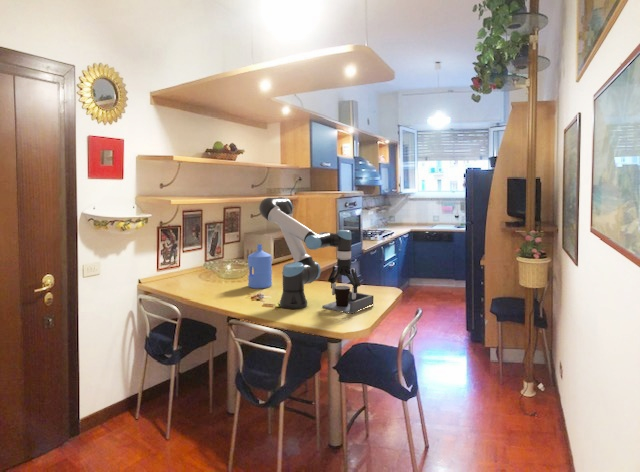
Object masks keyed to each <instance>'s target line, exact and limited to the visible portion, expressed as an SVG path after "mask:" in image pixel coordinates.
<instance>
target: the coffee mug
mask: <svg viewBox="0 0 640 472" xmlns="http://www.w3.org/2000/svg"><path fill="white" fill-rule="evenodd" d="M334 288H335V295H334V296H335V301H336V306H338V307H347V306H348V302H349V294H350V291H351V287H350V286H349V285H336V287H334Z"/></svg>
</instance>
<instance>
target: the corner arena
mask: <svg viewBox="0 0 640 472" xmlns="http://www.w3.org/2000/svg"><path fill="white" fill-rule="evenodd" d="M372 304H373V305H374V295H372V294H366V293H360V292H357V293H356V299H352V290H350V294H349V302H348V306H347V307H338V306H336V300H335V301H333V302H330V303H327V304H324V305H322V307H321V308H322V309H326V308H327V310H331V309H332V310H333V311H335V310H337V311H336V312H340V311H343V312H342V313H344V312H349V313H354V312H356V311H358V310H360V309H363V308H365V307H367V306H369V305H372ZM332 310H331V311H332ZM349 313H348V314H349Z"/></svg>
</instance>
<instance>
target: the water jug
mask: <svg viewBox="0 0 640 472" xmlns="http://www.w3.org/2000/svg"><path fill="white" fill-rule="evenodd" d="M262 246H263V244H257V246H256V247H257V249H256V251H254V252H251V254H249V255H248V256H247V266H248V270H249V271H248V276H247V277H248V284H247V285H248V288H250V289H256V290H257V289H259V290H260V289H267V288H271V287H272V285H273V282H272V274H273V270H272V269H273V268H272V262H273V261H272V254H270V253H269V252H265V251H264V250H263V247H262Z"/></svg>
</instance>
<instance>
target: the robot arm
mask: <svg viewBox="0 0 640 472" xmlns="http://www.w3.org/2000/svg"><path fill="white" fill-rule="evenodd" d="M258 209H259V213H260V215H261V217H262V218H264V219H265V220H267V221H268V222H270V223H275V224H276V225H277V226H278V227H279V228H280V231H281V233H282V235H283V238H284V240H285V243H286V244H287V247H288V249H289V252H290V254H291V257H292V258H293V259H292V260H293V261H294V262H289V263H288V262H287V263H286V264H284V265H283V266H282V293H281V297H280V300H279V307H280V306H281V307H280V308H283V309H288V310H289V309H290V310H296V309H298V310H299V309H303V308H306V307H307V306H308V300H307V299H306V295H305V285H306V284H308V283H313V282H315V281H317V280H318V279H319V278H320V276H321V271H322V270H321V269H322V268H321V266H320V264H319V263H318V262H316V261H315V260H314V259H313V256H311V255H309V254H308V252H307V250H306V248H307V249H308V250H319V249H323V248H327V247H331V248H337V253H336V254H337V255H336V256H337V260H336V261H337V263H336V265H333V266H332V270H331V272H330V275H329V277H328V280H327V281H328V283H330V289H331V296H335V288H334V287H336V286H337V282H336V281H337V280H338V279H339V278H340V276H344V277H346V278H347V279H348V281H349V282H350V283H351V285H352V288H351V292H352V299H356V293H358V287H360V286H361V282H360V280H359V277H358V274H357V271H356V270H357V269H356V268H354V267H353V268H351V267H352V266H351V265H352V231H351V230H349V229H338V230H337V232H335V233H334V232H326V231H325V232H319V233H316V232H314V231H313V230H311V229H310V228H308V227H307V226H306V225H304V224H302V223H301V222H299V221H298V220H296V219H295V218H293V216H294V215H293V211H294V206H293V203H292V201H291V200H290V199H288V198H287V197H282V196H280V197H266V198H264V199H263V200H262V201H261V202H260V203H259V207H258Z"/></svg>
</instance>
